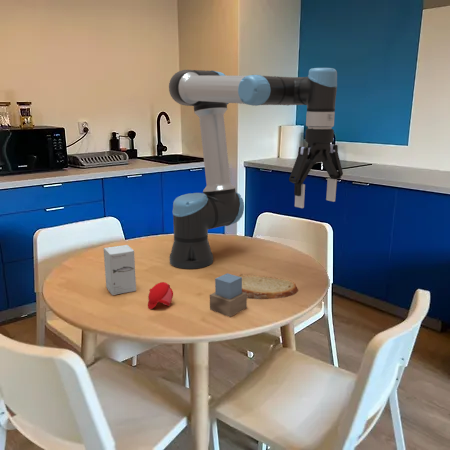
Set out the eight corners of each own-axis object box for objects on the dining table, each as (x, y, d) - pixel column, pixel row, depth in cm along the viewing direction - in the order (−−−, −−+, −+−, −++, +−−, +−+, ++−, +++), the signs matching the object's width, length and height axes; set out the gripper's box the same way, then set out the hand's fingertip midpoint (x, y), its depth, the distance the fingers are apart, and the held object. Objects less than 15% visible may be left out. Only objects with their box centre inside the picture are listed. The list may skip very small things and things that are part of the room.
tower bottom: (209, 310, 122) (209, 294, 120) (226, 301, 127) (226, 286, 126) (230, 317, 117) (230, 301, 116) (246, 308, 122) (246, 293, 121)
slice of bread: (303, 291, 134) (303, 279, 133) (260, 309, 122) (260, 296, 121) (259, 275, 147) (259, 264, 146) (217, 290, 135) (217, 278, 134)
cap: (162, 285, 129) (146, 279, 125) (177, 283, 125) (160, 277, 121) (158, 313, 126) (141, 308, 122) (172, 312, 122) (155, 307, 118)
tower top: (215, 294, 121) (215, 278, 119) (227, 288, 124) (227, 273, 123) (230, 299, 117) (229, 283, 116) (241, 293, 121) (241, 277, 120)
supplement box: (112, 296, 130) (108, 254, 127) (105, 287, 137) (102, 247, 133) (137, 291, 133) (134, 250, 130) (129, 283, 140) (127, 243, 137)
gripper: (299, 130, 114) (295, 212, 119) (359, 127, 129) (353, 200, 134) (277, 128, 119) (274, 207, 125) (337, 125, 134) (332, 196, 140)
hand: (315, 204), depth 130 cm, fingers open, 13 cm apart
